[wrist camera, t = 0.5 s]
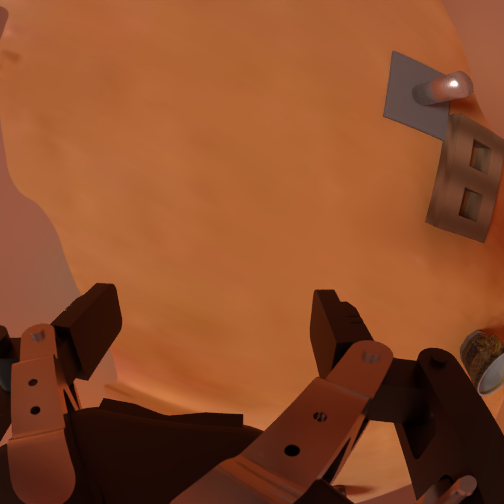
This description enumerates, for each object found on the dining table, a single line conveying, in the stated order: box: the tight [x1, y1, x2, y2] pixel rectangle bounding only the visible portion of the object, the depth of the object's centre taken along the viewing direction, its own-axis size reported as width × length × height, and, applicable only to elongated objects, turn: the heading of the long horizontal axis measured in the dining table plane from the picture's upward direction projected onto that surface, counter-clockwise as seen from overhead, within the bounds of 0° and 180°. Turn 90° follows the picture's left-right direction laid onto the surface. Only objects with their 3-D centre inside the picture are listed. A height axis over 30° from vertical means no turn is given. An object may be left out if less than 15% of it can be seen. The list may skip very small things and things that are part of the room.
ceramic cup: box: [460, 330, 504, 396], centre depth 39 cm, size 13×10×10 cm
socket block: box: [425, 114, 504, 243], centre depth 34 cm, size 16×10×4 cm, turn 169°
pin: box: [412, 71, 473, 106], centre depth 27 cm, size 3×3×10 cm
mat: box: [383, 51, 450, 141], centre depth 32 cm, size 10×10×1 cm
